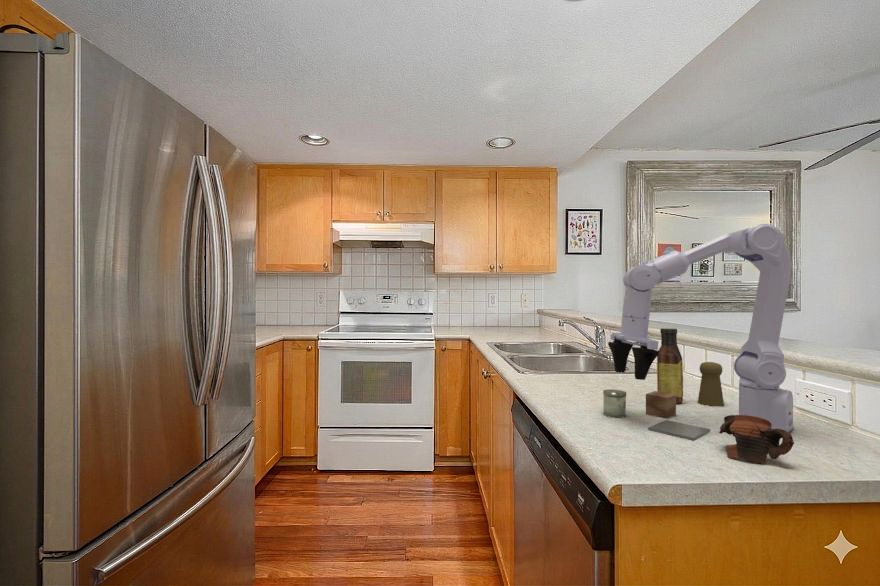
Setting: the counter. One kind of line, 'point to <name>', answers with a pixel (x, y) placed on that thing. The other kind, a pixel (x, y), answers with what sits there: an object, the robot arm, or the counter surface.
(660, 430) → the slate tile
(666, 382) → the sauce bottle
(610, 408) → the green spice tin
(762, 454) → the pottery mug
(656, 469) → the counter surface
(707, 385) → the cork
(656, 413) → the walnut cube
